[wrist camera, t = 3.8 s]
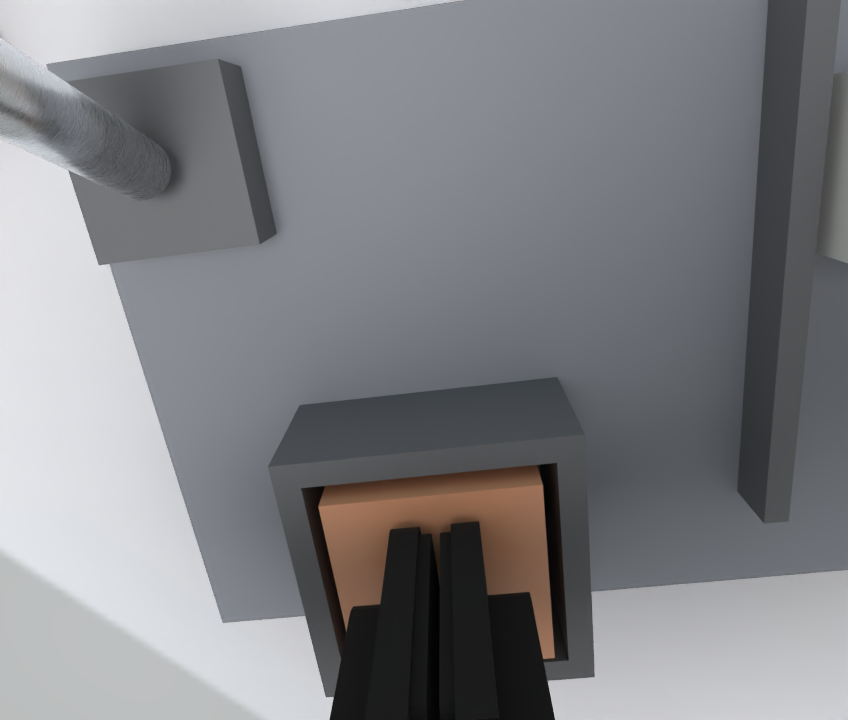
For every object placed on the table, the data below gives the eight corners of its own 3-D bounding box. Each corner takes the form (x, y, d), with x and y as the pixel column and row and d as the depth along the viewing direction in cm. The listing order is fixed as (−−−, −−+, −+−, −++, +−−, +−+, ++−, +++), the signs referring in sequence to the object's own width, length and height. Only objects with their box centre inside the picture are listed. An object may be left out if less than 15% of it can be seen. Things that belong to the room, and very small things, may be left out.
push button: (528, 435, 12) (542, 485, 10) (540, 592, 14) (555, 658, 12) (334, 456, 12) (317, 506, 11) (365, 607, 14) (355, 673, 12)
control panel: (1001, -61, 11) (1339, -177, 7) (900, 510, 16) (1071, 649, 12) (104, 74, 13) (-68, 43, 8) (246, 569, 17) (182, 715, 13)
